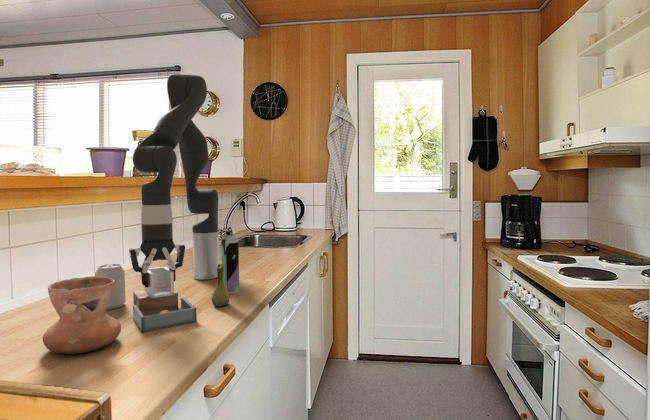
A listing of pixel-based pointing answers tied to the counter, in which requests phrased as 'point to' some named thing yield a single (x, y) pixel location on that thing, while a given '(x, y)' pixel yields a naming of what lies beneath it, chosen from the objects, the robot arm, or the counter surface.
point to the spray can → (230, 262)
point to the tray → (165, 317)
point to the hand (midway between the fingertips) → (158, 284)
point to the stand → (154, 302)
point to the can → (119, 286)
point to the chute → (160, 282)
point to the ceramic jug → (81, 315)
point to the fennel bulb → (220, 289)
